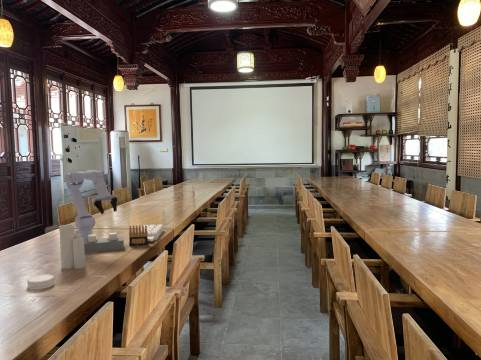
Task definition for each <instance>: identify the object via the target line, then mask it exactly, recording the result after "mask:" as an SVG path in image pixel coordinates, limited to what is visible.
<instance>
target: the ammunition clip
mask: <svg viewBox="0 0 481 360" xmlns="http://www.w3.org/2000/svg"><path fill="white" fill-rule="evenodd" d="M143 225H145V233H144V226H143ZM146 225H147V224H142V225H141V224H139V225H132V226H131V225H129V231H128V235H129V237H128V239H129V243H128V245H129V247H134V246H135V247H136V245H139V246H149V241H148V232H147V226H146ZM141 227H142V235H141ZM138 230H139V236H138ZM135 234H136V236H135ZM135 239H136V240H135Z"/></svg>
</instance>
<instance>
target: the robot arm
mask: <svg viewBox="0 0 481 360" xmlns="http://www.w3.org/2000/svg"><path fill="white" fill-rule="evenodd" d="M64 175H65V176H64V183H65V184H66V188H67V189H68V190H69V192H70V195H71V198H72V201H73V203H74V206H75V207H74V208H75V209H76V213H77V215H76V216H75V218H74V221H75V222H74V223H75V226H76V227H75V228H77V229H75V230H76V231H75V234H78V233H79V234H81V238H84V240H88V235H91V234H93V229H94V227H95V226H96V219H95V218H94V216H93V214H92V213H90V212H88V210H87V208H86V205H85V203H84V198H83V197H82V194H81V191H80V189H81V188H82V187H83V184H84V182H85V180H87V181H91V182H92V184H93V185H94V187H95V190H96V193H97V194H96V195H97V197H95V198H92V199H91V203H92V204H93V205H94V207H95V208H97V209H98V211H99V213H100V214H101V215H104V214H105V211H104V208H103V203H102V202H105V201H110V202H109V204H110V205H111V207H112V209H113V212H117V211H118V209H117V207H118V206H117V204H118V198H119V197H118V195H117V194H110V193H109V190H108V187H107V183H106V181H105V176H106V174H105V171H103V170H102V169H99V170H96V169H93V170H92V168H91V169H87V170H85V171H74V172H67V173H66V174H64Z"/></svg>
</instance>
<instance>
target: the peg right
mask: <svg viewBox="0 0 481 360" xmlns="http://www.w3.org/2000/svg"><path fill="white" fill-rule="evenodd" d="M117 237H118V236H117V232H109V233H108V238H109V241H111V240H117Z"/></svg>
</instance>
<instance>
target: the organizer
mask: <svg viewBox="0 0 481 360" xmlns="http://www.w3.org/2000/svg"><path fill="white" fill-rule="evenodd" d="M142 225H143V226H144V233H145V225H146V226H147V232H148V242H153V241H157V239H158V238H159V237H160V235H161V234H162V233H163V232H164V228H163V225H164V224H142ZM141 235H142V226H141ZM135 236H136V234H135ZM138 236H139V229H138ZM135 240H136V239H135Z"/></svg>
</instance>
